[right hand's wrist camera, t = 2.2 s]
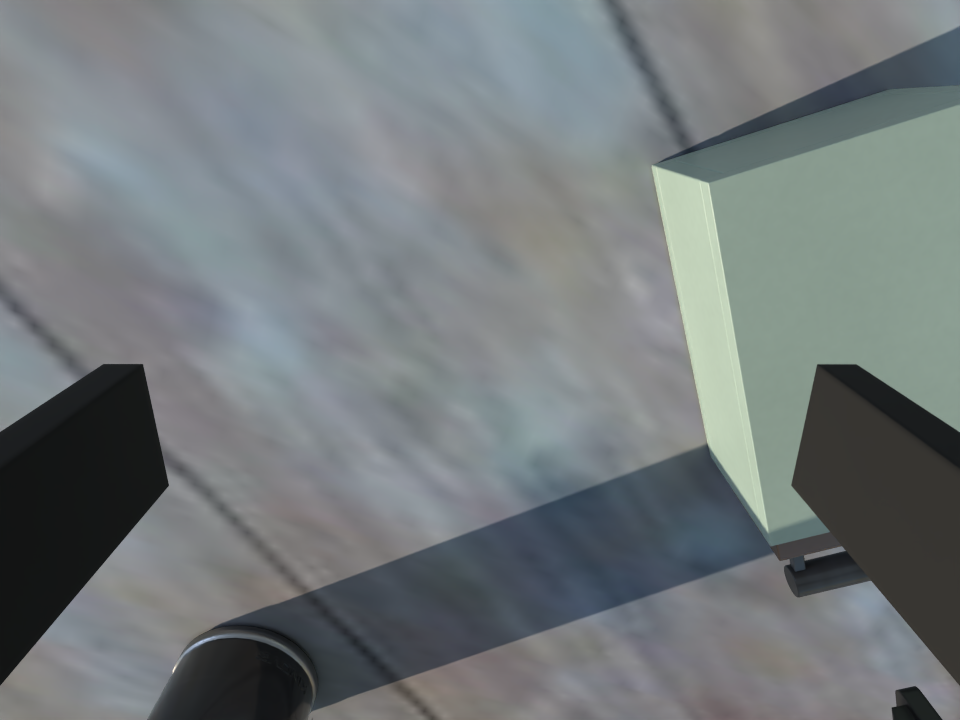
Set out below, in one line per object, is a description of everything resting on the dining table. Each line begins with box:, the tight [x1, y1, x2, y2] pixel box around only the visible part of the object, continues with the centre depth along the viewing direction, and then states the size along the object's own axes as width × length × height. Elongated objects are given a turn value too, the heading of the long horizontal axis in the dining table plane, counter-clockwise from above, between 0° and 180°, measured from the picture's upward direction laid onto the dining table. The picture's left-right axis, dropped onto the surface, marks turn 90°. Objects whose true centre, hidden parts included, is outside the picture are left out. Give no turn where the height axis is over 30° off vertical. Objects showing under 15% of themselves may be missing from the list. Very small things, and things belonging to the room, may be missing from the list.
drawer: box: [732, 489, 871, 597], centre depth 30 cm, size 21×10×6 cm, turn 17°
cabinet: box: [652, 85, 960, 546], centre depth 28 cm, size 17×11×8 cm, turn 17°
